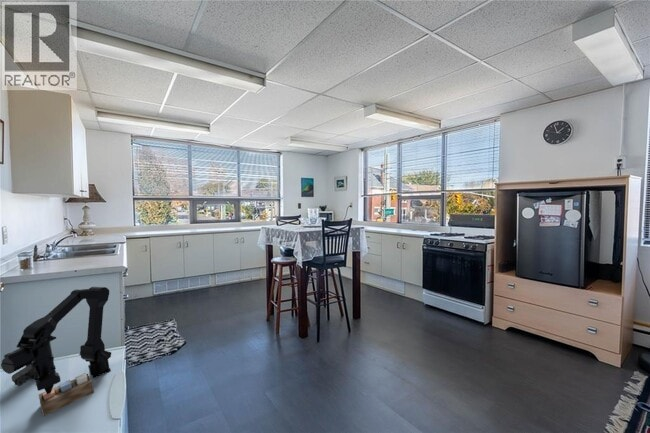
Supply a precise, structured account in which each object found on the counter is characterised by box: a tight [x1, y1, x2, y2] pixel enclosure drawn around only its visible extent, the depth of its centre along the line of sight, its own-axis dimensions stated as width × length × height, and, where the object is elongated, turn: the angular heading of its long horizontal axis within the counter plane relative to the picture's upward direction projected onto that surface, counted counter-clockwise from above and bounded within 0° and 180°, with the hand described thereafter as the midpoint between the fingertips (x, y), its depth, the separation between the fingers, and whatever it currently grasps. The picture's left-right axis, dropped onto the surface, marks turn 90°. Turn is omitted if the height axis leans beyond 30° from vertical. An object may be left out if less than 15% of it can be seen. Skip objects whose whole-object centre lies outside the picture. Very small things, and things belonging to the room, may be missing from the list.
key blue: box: [58, 379, 72, 393], centre depth 118 cm, size 3×3×4 cm
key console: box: [38, 373, 95, 417], centre depth 118 cm, size 15×8×5 cm, turn 140°
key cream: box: [74, 373, 88, 386], centre depth 121 cm, size 3×3×4 cm
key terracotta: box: [42, 388, 55, 400], centre depth 114 cm, size 3×3×4 cm
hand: (48, 392), depth 114 cm, fingers closed, pressing on key terracotta
